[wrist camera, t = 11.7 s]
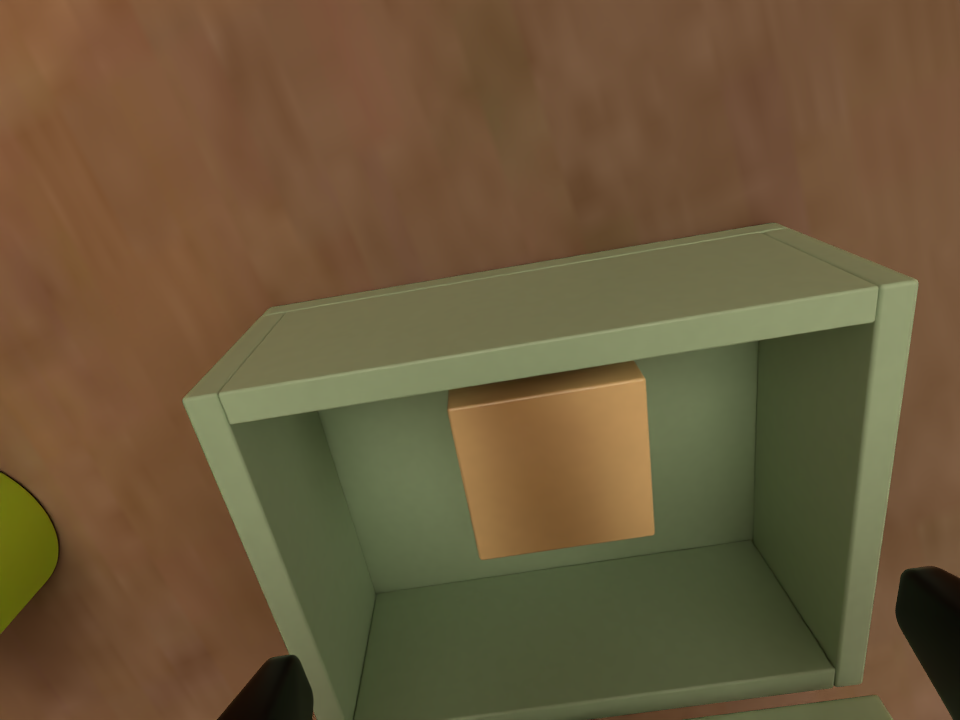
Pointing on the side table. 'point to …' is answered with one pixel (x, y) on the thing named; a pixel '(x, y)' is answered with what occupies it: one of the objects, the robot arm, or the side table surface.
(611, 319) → the chest
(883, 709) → the lid
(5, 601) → the soap dispenser
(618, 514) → the block
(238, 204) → the side table surface
